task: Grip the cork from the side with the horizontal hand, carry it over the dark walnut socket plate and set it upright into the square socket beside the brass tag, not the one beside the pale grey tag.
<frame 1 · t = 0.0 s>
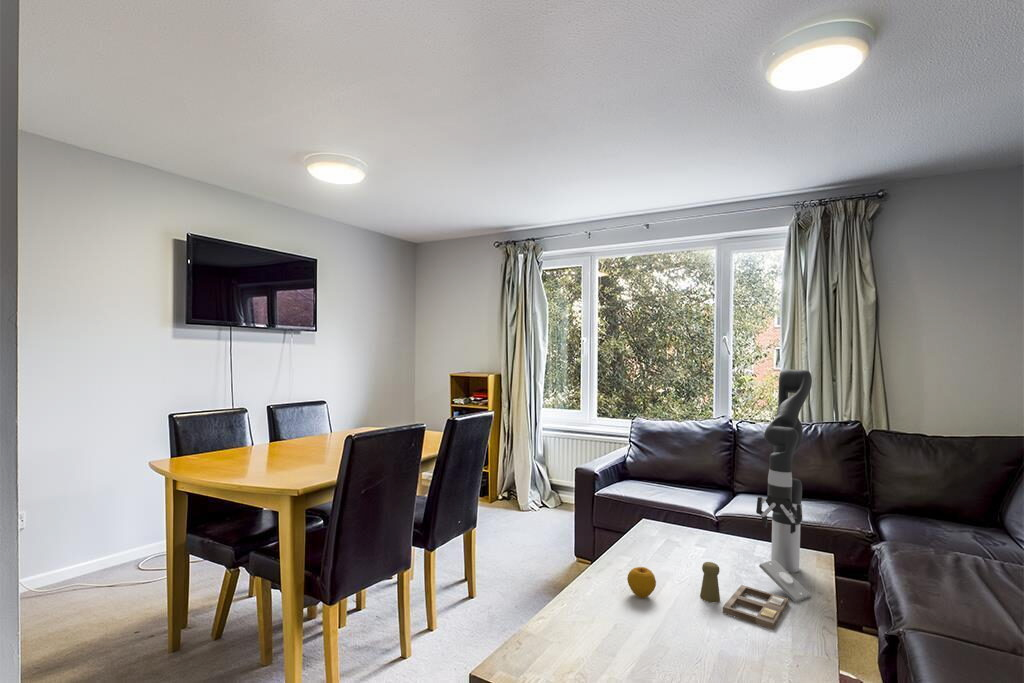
hand: (778, 530, 181), 17 cm above the table, tool pointing down, fingers open, 8 cm apart
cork: (709, 598, 165), on the table
socket plate: (756, 608, 159), on the table
apple: (641, 596, 165), on the table
light switch: (784, 592, 171), on the table
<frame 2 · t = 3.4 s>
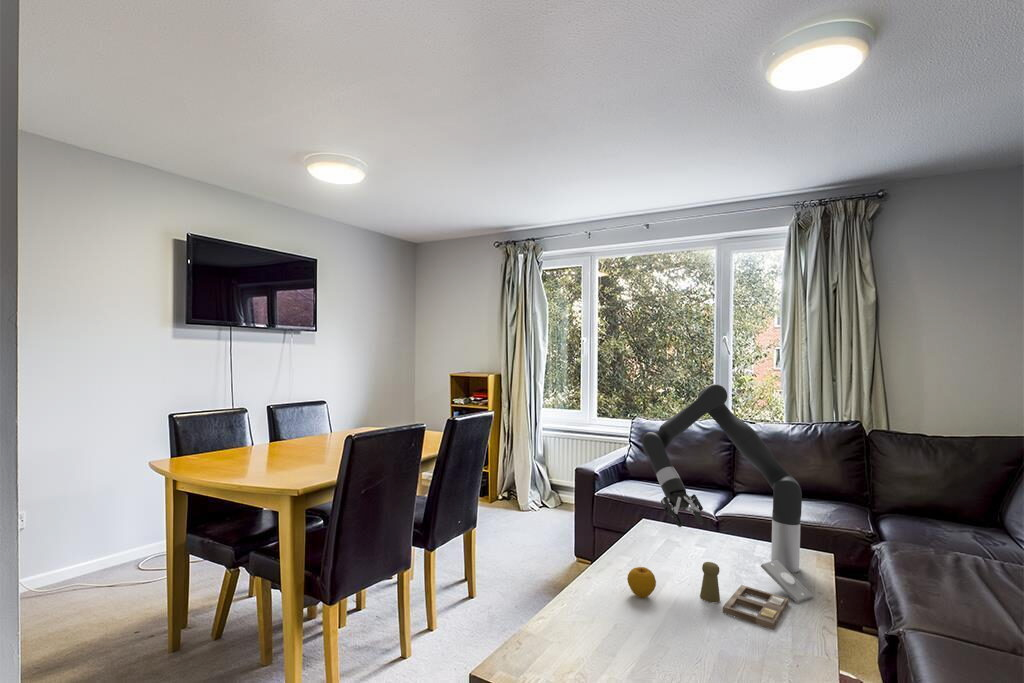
hand: (691, 524, 176), 20 cm above the table, tool tilted 45°, fingers open, 8 cm apart
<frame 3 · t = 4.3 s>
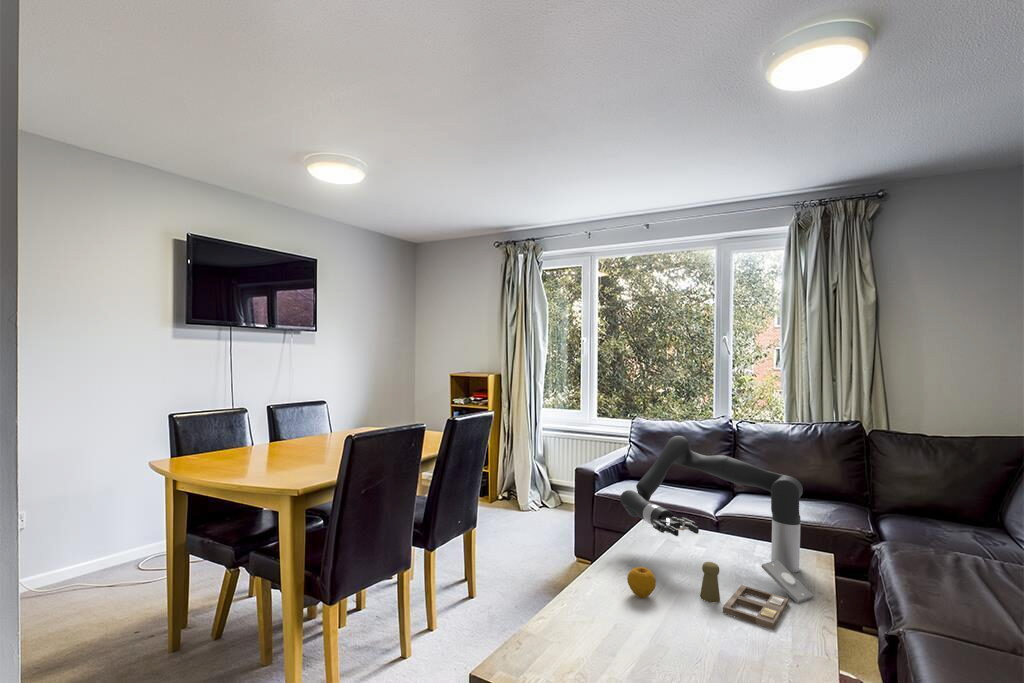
hand: (687, 532, 176), 17 cm above the table, tool horizontal, fingers open, 8 cm apart
nothing on the table moved.
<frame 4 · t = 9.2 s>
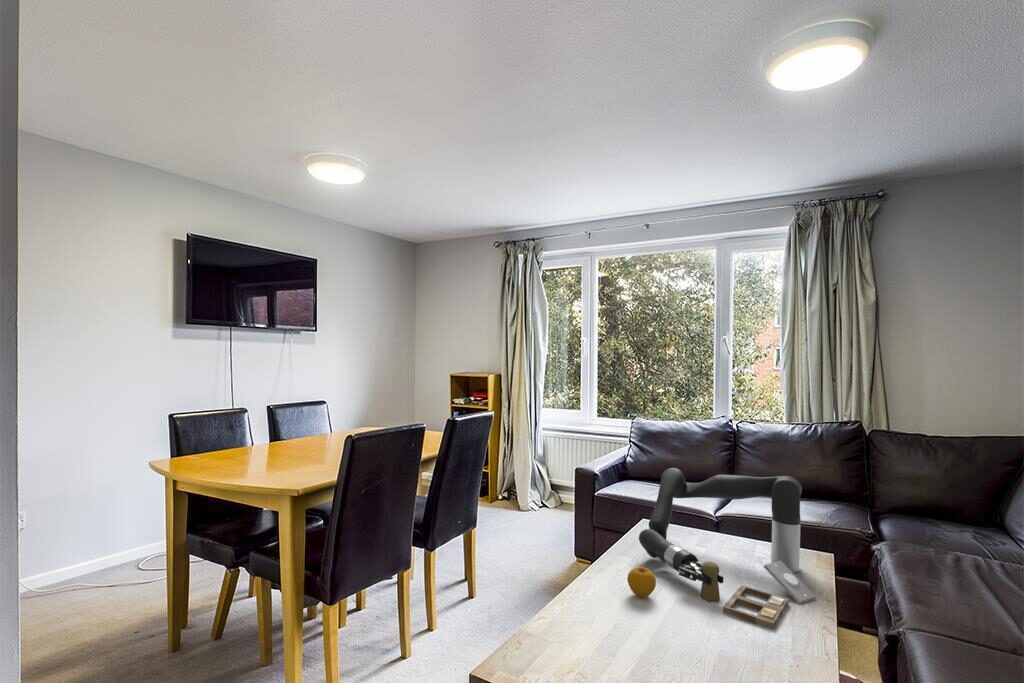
hand: (716, 581, 163), 7 cm above the table, tool horizontal, fingers closed on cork, 4 cm apart
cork: (709, 598, 165), on the table, touching gripper
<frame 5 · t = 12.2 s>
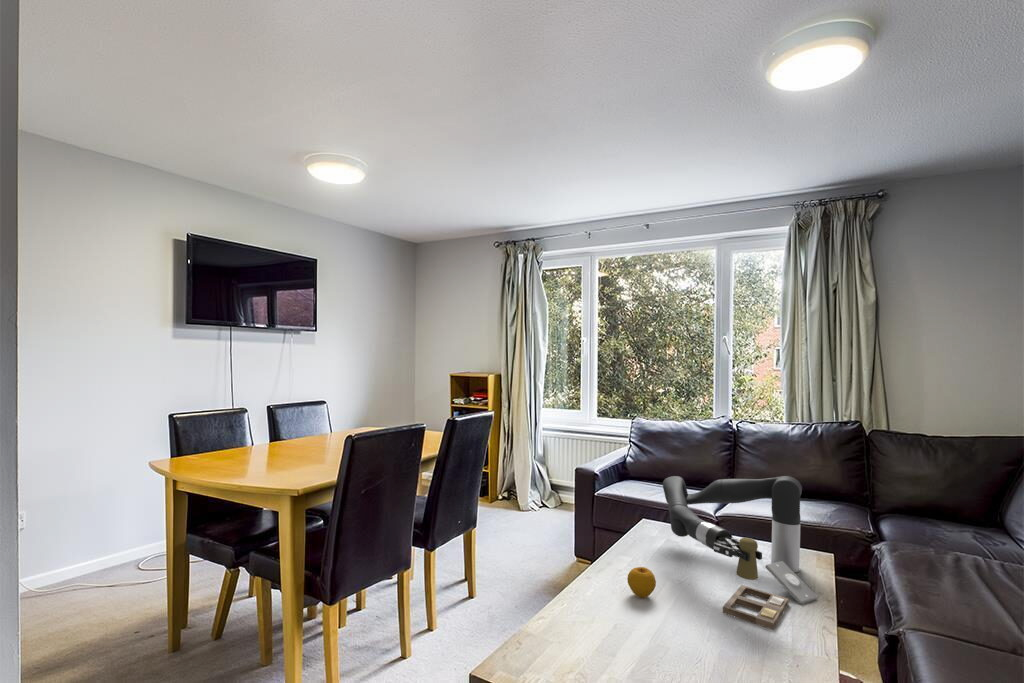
hand: (755, 557, 154), 18 cm above the table, tool horizontal, fingers closed on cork, 4 cm apart
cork: (747, 576, 157), point 11 cm above the table, touching gripper
when the fingers open (8 cm above the table, at t = 15.3 s): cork drops 1 cm, resting in socket plate.
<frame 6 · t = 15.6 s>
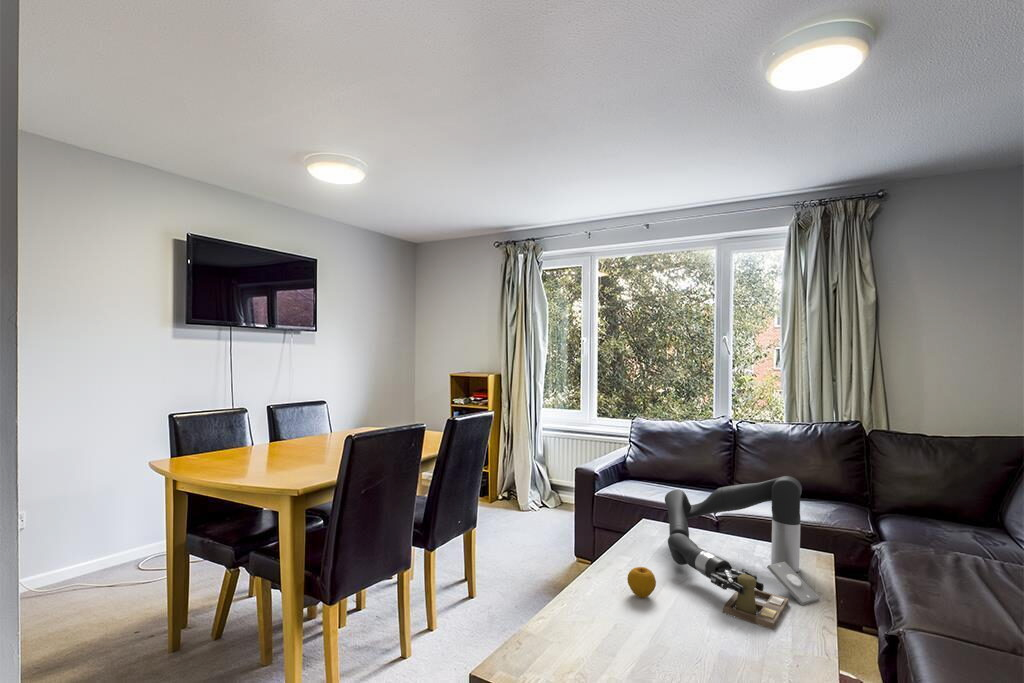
hand: (753, 589, 154), 8 cm above the table, tool horizontal, fingers open, 7 cm apart
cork: (745, 613, 156), resting in socket plate
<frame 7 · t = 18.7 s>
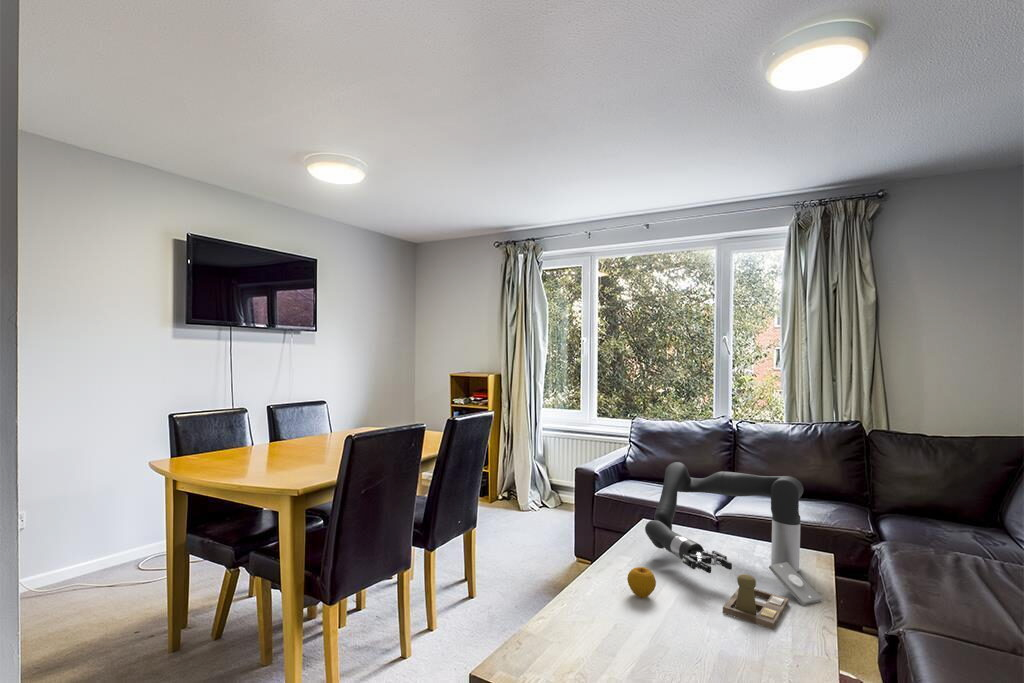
hand: (720, 568, 167), 9 cm above the table, tool horizontal, fingers open, 8 cm apart
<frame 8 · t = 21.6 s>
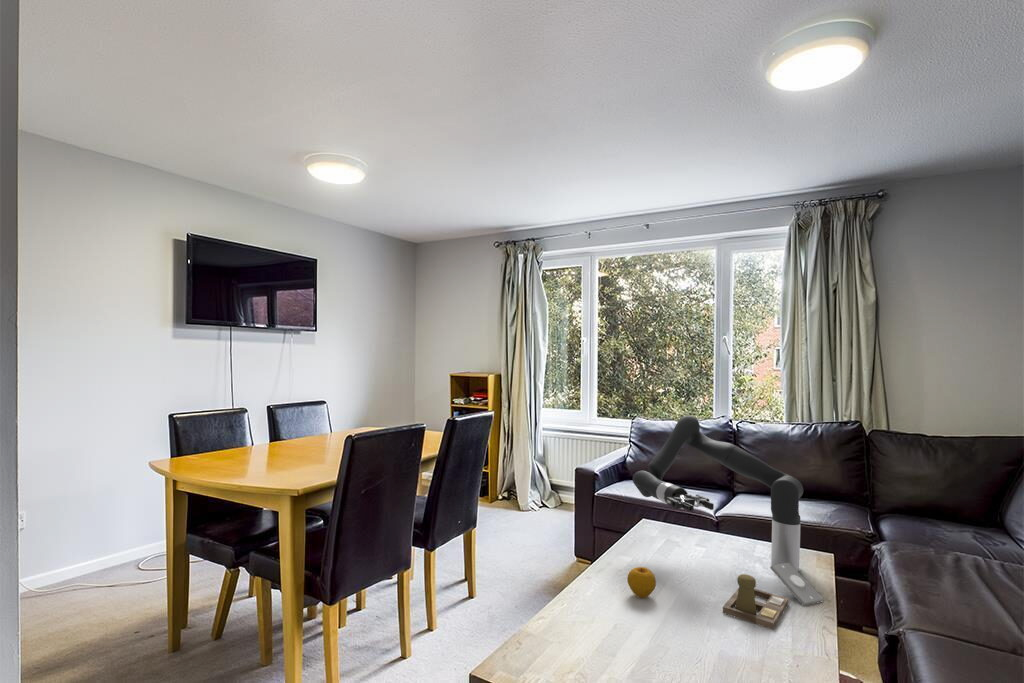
hand: (702, 507, 174), 26 cm above the table, tool horizontal, fingers open, 8 cm apart
at the end: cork 0.2 cm from the target spot on the socket plate, point 0.0 cm above the socket plate's base; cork tilted 0°; the gripper is holding nothing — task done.
